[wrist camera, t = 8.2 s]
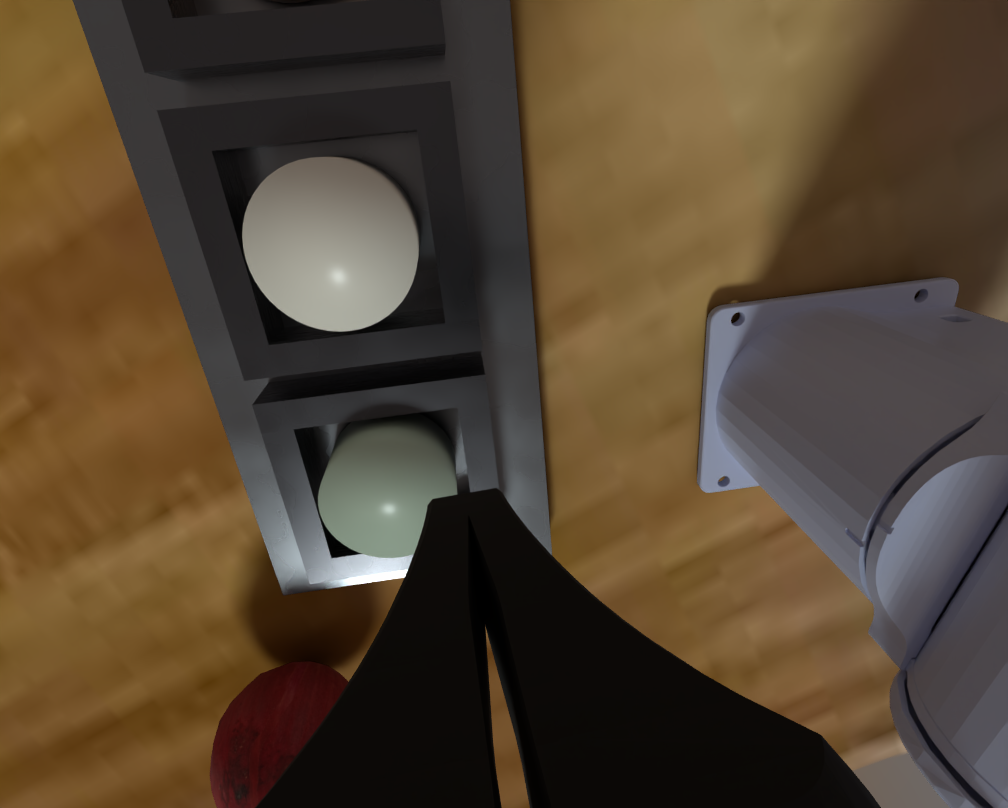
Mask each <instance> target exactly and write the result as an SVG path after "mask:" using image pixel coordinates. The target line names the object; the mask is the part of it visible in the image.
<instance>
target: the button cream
mask: <svg viewBox="0 0 1008 808" xmlns="http://www.w3.org/2000/svg"><path fill="white" fill-rule="evenodd" d="M242 239H243V249H244V254H245V258H246V262H247V264H248V267H249V270H250V272H251V274H252V276H253V278H254V280H255V282H256V283H257V285H258V286H259V288H260V289H261V291H262V292H263V293H264V295H265V296H266V297H267V298H268V299H269V300H270V301H271V302H272V303H273V304H274V305H275V306H276V307H277V308H278V309H279V310H281V311H282V312H283V313H285V314H286V315H287V316H289V317H291V318H293V319H294V320H296V321H298V322H300V323H302V324H305V325H307V326H310V327H313V328H317V329H321V330H327V331H338V332H341V331H353V330H358V329H362V328H365V327H368V326H371V325H373V324H375V323H377V322H379V321H381V320H382V319H384V318H385V317H387V316H388V315H389V314H391V313H392V312H393V311H394V310H395V309H396V308H397V307H398V306H399V305H400V303H401V302H402V301H403V300H404V298H405V296H406V295H407V293H408V291H409V289H410V287H411V285H412V283H413V280H414V276H415V273H416V268H417V263H418V258H419V252H420V240H421V237H420V227H419V222H418V218H417V215H416V212H415V209H414V207H413V205H412V203H411V201H410V199H409V198H408V196H407V195H406V193H405V192H404V190H403V189H402V188H401V187H400V185H399V184H398V183H397V182H396V181H395V180H394V179H393V178H392V177H391V176H390V175H388V174H387V173H386V172H384V171H383V170H381V169H380V168H378V167H376V166H374V165H373V164H371V163H368V162H366V161H363V160H360V159H356V158H352V157H345V156H328V157H312V158H306V159H300V160H297V161H294V162H291V163H288V164H286V165H284V166H282V167H280V168H279V169H277V170H276V171H274V172H273V173H272V174H270V175H269V176H268V177H267V178H266V179H265V180H264V181H263V182H262V183H261V184H260V185H259V187H258V188H257V189H256V191H255V192H254V194H253V195H252V197H251V199H250V201H249V203H248V206H247V209H246V212H245V216H244V221H243V232H242Z"/></svg>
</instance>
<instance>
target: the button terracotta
mask: <svg viewBox="0 0 1008 808" xmlns="http://www.w3.org/2000/svg"><path fill="white" fill-rule="evenodd" d="M271 1H275V2H282V3H299V2H305V1H310V0H271Z"/></svg>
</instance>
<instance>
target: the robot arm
mask: <svg viewBox="0 0 1008 808" xmlns="http://www.w3.org/2000/svg"><path fill="white" fill-rule="evenodd" d="M919 290H920V293H919V295H918V297H917V298H916V299H914V297H915V294H916V293H917V292H918V291H919ZM958 291H959V285H958V282H957V281H956V280H954V279H951V278H946V277H940V278H932V279H924V280H916V281H908V282H900V283H892V284H884V285H876V286H869V287H861V288H853V289H845V290H837V291H829V292H821V293H813V294H805V295H797V296H789V297H781V298H773V299H765V300H757V301H750V302H742V303H734V304H726V305H720V306H717V307H715V308H714V309H712V310H711V312H710V313H709V315H708V318H707V330H706V346H705V362H704V378H703V394H702V410H701V426H700V442H699V458H698V474H697V483H698V485H699V486H700V488H701V489H702V490H703V491H704V492H707V493H712V492H719V491H726V490H733V489H739V488H746V487H753V486H761V487H762V488H763V489H764V490H765V491H766V492H767V493H768V494H769V495H770V496H771V497H772V498H773V500H774V501H775V502H776V503H777V504H778V505H779V506H780V507H781V508H782V509H783V510H784V511H785V512H786V513H787V514H788V515H789V516H790V517H791V518H792V519H793V520H794V522H795V523H796V524H797V525H798V526H799V527H800V528H801V529H802V530H803V531H804V532H805V533H806V534H807V535H808V536H809V537H810V538H811V539H812V540H813V541H814V542H815V544H816V545H817V546H818V547H819V548H820V549H821V550H822V551H823V552H824V553H825V554H826V555H827V556H828V557H829V558H830V559H831V560H832V561H833V562H834V563H835V564H836V566H837V567H838V568H839V569H840V570H841V571H842V572H843V573H844V574H845V575H846V576H847V577H848V578H849V579H850V580H851V581H852V582H853V583H854V584H855V585H856V587H857V588H858V589H859V590H860V591H861V592H862V593H863V594H864V595H865V596H866V597H867V598H868V599H869V600H870V601H871V602H872V603H873V605H874V618H873V621H872V624H871V626H870V628H869V632H868V633H869V634H870V636H871V637H872V638H873V639H874V640H875V641H876V642H877V643H878V645H879V646H880V647H881V648H882V649H883V650H884V651H885V652H886V654H887V655H888V656H889V657H890V658H891V659H892V660H893V661H894V663H895V664H896V665H897V666H898V667H899V668H900V670H899V671H898V673H897V674H896V676H895V677H894V679H893V682H892V685H891V688H890V709H891V713H892V717H893V721H894V725H895V727H896V729H897V731H898V734H899V736H900V738H901V741H902V743H903V744H904V746H905V748H906V749H907V751H908V753H909V754H910V756H911V758H912V759H913V761H914V763H915V764H916V766H917V767H918V769H919V770H920V771H921V773H922V774H923V775H924V777H925V778H926V779H927V781H928V782H929V783H930V785H931V786H932V787H933V789H934V790H935V791H936V792H937V793H938V795H939V796H940V797H941V798H942V799H943V800H944V801H945V802H946V804H947V805H948V806H949V807H950V808H1008V323H1007V322H1004V321H1000V320H997V319H994V318H991V317H987V316H984V315H981V314H977V313H974V312H971V311H968V310H964V309H961V308H958V307H955V303H956V299H957V295H958ZM738 312H739V313H740V316H739V319H738V320H737V321H736V322H734V323H731V318H732V316H733V315H734V314H735V313H738ZM723 476H725V479H724V480H722V481H720V482H718V480H719V479H720V478H721V477H723ZM485 626H486V630H487V633H488V637H489V641H490V644H491V648H492V652H493V655H494V659H495V663H496V667H497V670H498V674H499V678H500V681H501V685H502V689H503V692H504V696H505V700H506V703H507V707H508V711H509V714H510V718H511V722H512V725H513V729H514V733H515V736H516V740H517V745H518V749H519V753H520V758H521V762H522V767H523V772H524V778H525V783H526V788H527V794H528V799H529V805H530V808H881V807H880V806H879V804H878V803H877V802H876V800H875V799H874V798H873V796H872V795H871V794H870V792H869V791H868V790H867V788H866V787H865V786H864V785H863V784H862V782H861V781H860V780H859V779H858V778H857V776H856V775H855V774H854V772H853V771H852V770H851V769H850V768H849V767H848V765H847V764H846V763H845V762H844V761H843V760H842V759H841V757H840V756H839V755H838V754H837V753H836V752H835V751H834V749H833V748H832V747H831V746H830V745H829V744H828V743H827V741H826V740H825V739H824V738H823V737H822V736H821V735H820V734H818V733H816V732H814V731H812V730H810V729H808V728H806V727H804V726H802V725H800V724H798V723H796V722H794V721H792V720H790V719H788V718H786V717H784V716H782V715H780V714H777V713H775V712H773V711H771V710H769V709H767V708H765V707H763V706H761V705H759V704H757V703H755V702H753V701H751V700H749V699H747V698H745V697H743V696H741V695H739V694H738V693H736V692H734V691H732V690H730V689H729V688H727V687H725V686H723V685H722V684H720V683H718V682H716V681H715V680H713V679H711V678H709V677H708V676H706V675H704V674H702V673H701V672H699V671H698V670H696V669H695V668H693V667H692V666H690V665H689V664H687V663H686V662H684V661H682V660H681V659H679V658H678V657H676V656H675V655H673V654H672V653H670V652H669V651H667V650H666V649H664V648H663V647H661V646H660V645H658V644H656V643H655V642H653V641H652V640H650V639H649V638H647V637H646V636H645V635H643V634H642V633H641V632H639V631H638V630H637V629H635V628H634V627H633V626H631V625H630V624H629V623H627V622H626V621H625V620H623V619H622V618H621V617H619V616H618V615H617V614H616V613H614V612H613V611H612V610H611V609H609V608H608V607H607V606H606V605H604V604H603V603H602V602H601V601H600V600H598V599H597V598H596V597H595V596H594V595H593V594H591V593H590V592H589V591H588V590H587V589H586V588H585V587H584V586H583V585H581V584H580V583H579V582H578V581H577V580H576V579H575V578H574V577H573V576H572V575H571V574H570V573H569V572H568V571H567V570H566V569H565V568H564V567H563V566H562V565H561V564H560V563H559V562H558V561H557V560H556V559H555V558H554V557H553V556H552V555H551V554H550V553H549V552H548V551H547V549H546V548H545V547H544V546H543V545H542V544H541V543H540V542H539V541H538V540H537V538H536V537H535V536H534V535H533V534H532V533H531V531H530V530H529V529H528V528H527V527H526V525H525V524H524V523H523V522H522V520H521V519H520V518H519V516H518V515H517V514H516V512H515V511H514V510H513V508H512V507H511V505H510V504H509V502H508V501H507V499H506V498H505V496H504V494H503V492H501V491H500V490H499V489H497V488H492V489H487V490H481V491H475V492H469V493H464V494H458V495H452V496H446V497H441V498H435V499H432V500H431V501H430V503H429V504H428V505H427V512H426V517H425V521H424V525H423V528H422V532H421V535H420V538H419V541H418V544H417V547H416V550H415V552H414V555H413V558H412V560H411V563H410V565H409V568H408V570H407V573H406V576H405V578H404V580H403V583H402V585H401V587H400V589H399V591H398V593H397V595H396V598H395V600H394V602H393V604H392V606H391V608H390V610H389V612H388V615H387V617H386V619H385V621H384V623H383V624H382V626H381V628H380V630H379V632H378V634H377V636H376V637H375V639H374V641H373V643H372V645H371V646H370V648H369V650H368V652H367V653H366V655H365V657H364V658H363V660H362V662H361V663H360V665H359V667H358V668H357V670H356V672H355V673H354V675H353V676H352V678H351V679H350V681H349V682H348V684H347V685H346V687H345V688H344V690H343V692H342V693H341V695H340V696H339V698H338V699H337V701H336V702H335V704H334V705H333V707H332V708H331V710H330V711H329V712H328V714H327V715H326V717H325V718H324V720H323V721H322V722H321V724H320V725H319V727H318V728H317V729H316V731H315V732H314V733H313V735H312V736H311V737H310V739H309V740H308V741H307V742H306V744H305V745H304V746H303V748H302V749H301V750H300V751H299V753H298V754H297V755H296V757H295V758H294V759H293V761H292V762H291V763H290V764H289V766H288V767H287V768H286V770H285V771H284V772H283V773H282V775H281V776H280V777H279V779H278V780H277V781H276V783H275V784H274V785H273V786H272V788H271V789H270V790H269V791H268V792H267V794H266V795H265V796H264V797H263V799H262V800H261V801H260V802H259V803H258V805H257V806H256V807H255V808H501V801H500V794H499V788H498V781H497V774H496V766H495V757H494V747H493V735H492V720H491V705H490V690H489V675H488V660H487V645H486V630H485Z"/></svg>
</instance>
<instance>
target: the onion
mask: <svg viewBox="0 0 1008 808" xmlns="http://www.w3.org/2000/svg"><path fill="white" fill-rule="evenodd" d="M347 684H348V681H347V680H346V679H345V678H344V677H343V676H342V675H341V674H340V673H338V672H337V671H335V670H334V669H332V668H331V667H329V666H327V665H324V664H320V663H316V662H312V661H305V662H291V663H288V664H285V665H283V666H280V667H277V668H275V669H272V670H269V671H267V672H264V673H261V674H260V675H259V676H258V677H256V678H255V679H254V680H253V681H252V682H251V683H250V684H249V685H248V686H246V687H245V688H244V690H243V691H242V692H241V693H240V694H239V695H238V696H237V697H236V698H235V699H234V700H233V701H232V702H231V703H230V705H229V707H228V708H227V710H226V712H225V713H224V715H223V716H222V718H221V720H220V722H219V726H218V729H217V732H216V736H215V739H214V743H213V750H212V757H211V767H210V781H211V789H212V793H213V797H214V800H215V803H216V806H217V808H255V807H256V806H257V805H258V803H259V802H260V801H261V800H262V799H263V797H264V796H265V795H266V794H267V792H268V791H269V790H270V789H271V788H272V786H273V785H274V784H275V783H276V781H277V780H278V779H279V777H280V776H281V775H282V773H283V772H284V771H285V770H286V768H287V767H288V766H289V764H290V763H291V762H292V761H293V759H294V758H295V757H296V755H297V754H298V753H299V751H300V750H301V749H302V748H303V746H304V745H305V744H306V742H307V741H308V740H309V739H310V737H311V736H312V735H313V733H314V732H315V731H316V729H317V728H318V727H319V725H320V724H321V722H322V721H323V720H324V718H325V717H326V715H327V714H328V712H329V711H330V710H331V708H332V707H333V705H334V704H335V702H336V701H337V699H338V698H339V696H340V695H341V693H342V692H343V690H344V688H345V687H346V685H347Z"/></svg>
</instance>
